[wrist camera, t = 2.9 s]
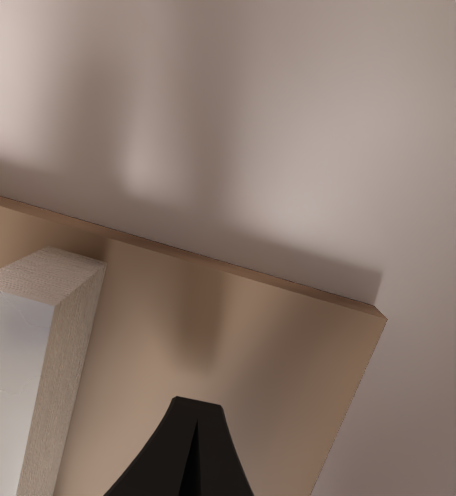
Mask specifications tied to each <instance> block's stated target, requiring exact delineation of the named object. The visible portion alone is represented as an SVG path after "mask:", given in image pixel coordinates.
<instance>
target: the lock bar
mask: <svg viewBox="0 0 456 496" xmlns="http://www.w3.org/2000/svg"><path fill="white" fill-rule="evenodd" d="M106 266H107V263H106V262H103V261H99V260H96V259H92V258H89V257H85V256H82V255H79V254H75V253H72V252H68V251H65V250H61V249H58V248H54V247H51V246H47V247H45V248H43V249H41V250H39V251H37V252H34V253H32V254H30V255H28V256H26V257H24V258H22V259H19V260H17V261H15V262H13V263H11V264H9V265H7V266H5V267H2V268H0V496H53V492H54V488H55V484H56V480H57V475H58V471H59V467H60V463H61V458H62V454H63V450H64V445H65V441H66V437H67V433H68V428H69V424H70V420H71V415H72V411H73V407H74V403H75V398H76V394H77V390H78V386H79V381H80V377H81V373H82V368H83V364H84V360H85V356H86V351H87V347H88V343H89V338H90V334H91V330H92V326H93V321H94V317H95V313H96V309H97V304H98V300H99V296H100V291H101V287H102V283H103V279H104V274H105V270H106Z"/></svg>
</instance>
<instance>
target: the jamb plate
mask: <svg viewBox="0 0 456 496" xmlns="http://www.w3.org/2000/svg"><path fill="white" fill-rule="evenodd" d="M47 246H51V247H54V248H58V249H61V250H65V251H68V252H72V253H75V254H79V255H82V256H85V257H89V258H92V259H96V260H99V261H103V262H106V263H107V266H106V270H105V274H104V279H103V283H102V287H101V291H100V296H99V300H98V304H97V309H96V313H95V317H94V321H93V326H92V330H91V334H90V338H89V343H88V347H87V351H86V356H85V360H84V364H83V368H82V373H81V377H80V381H79V386H78V390H77V394H76V398H75V403H74V407H73V411H72V415H71V420H70V424H69V428H68V433H67V437H66V441H65V445H64V450H63V454H62V458H61V463H60V467H59V471H58V475H57V480H56V484H55V488H54V492H53V496H103V495H104V494H105V493H106V492H107V491H108V490H109V489H110V487H111V486H112V485H113V484H114V483H115V482H116V481H117V479H118V478H119V477H120V476H121V475H122V473H123V472H124V471H125V470H126V469H127V467H128V466H129V465H130V464H131V462H132V461H133V460H134V459H135V457H136V456H137V455H138V454H139V452H140V451H141V450H142V448H143V447H144V445H145V444H146V443H147V441H148V440H149V438H150V437H151V435H152V434H153V433H154V431H155V430H156V428H157V427H158V425H159V423H160V422H161V420H162V418H163V417H164V415H165V413H166V411H167V409H168V407H169V405H170V403H171V400H172V398H174V397H176V396H180V397H185V398H190V399H195V400H199V401H204V402H209V403H214V404H219V405H221V406H222V408H223V409H224V414H225V418H226V422H227V425H228V428H229V432H230V435H231V438H232V441H233V444H234V447H235V449H236V452H237V455H238V457H239V460H240V463H241V465H242V468H243V470H244V473H245V475H246V478H247V480H248V482H249V485H250V487H251V489H252V491H253V494H254V496H310V494H311V492H312V490H313V488H314V485H315V483H316V481H317V478H318V476H319V474H320V472H321V469H322V467H323V465H324V463H325V460H326V458H327V456H328V454H329V451H330V449H331V447H332V444H333V442H334V440H335V438H336V435H337V433H338V431H339V429H340V426H341V424H342V422H343V420H344V417H345V415H346V413H347V410H348V408H349V406H350V404H351V401H352V399H353V397H354V395H355V392H356V390H357V388H358V385H359V383H360V381H361V379H362V376H363V374H364V372H365V370H366V367H367V365H368V363H369V361H370V358H371V356H372V354H373V351H374V349H375V347H376V345H377V342H378V340H379V338H380V336H381V333H382V331H383V329H384V327H385V324H386V322H387V320H388V319H387V318H386V317H385V316H384V315H383V314H382V313H381V312H380V311H379V310H378V309H377V308H376V307H375V306H372V305H369V304H365V303H362V302H358V301H355V300H352V299H348V298H345V297H341V296H338V295H335V294H331V293H328V292H324V291H321V290H318V289H314V288H311V287H307V286H304V285H301V284H297V283H294V282H290V281H287V280H284V279H280V278H277V277H273V276H270V275H267V274H263V273H260V272H256V271H253V270H250V269H246V268H243V267H239V266H236V265H233V264H229V263H226V262H222V261H219V260H216V259H212V258H209V257H205V256H202V255H199V254H195V253H192V252H188V251H185V250H181V249H178V248H175V247H171V246H168V245H164V244H161V243H158V242H154V241H151V240H147V239H144V238H141V237H137V236H134V235H130V234H127V233H124V232H120V231H117V230H113V229H110V228H107V227H103V226H100V225H96V224H93V223H90V222H86V221H83V220H79V219H76V218H73V217H69V216H66V215H62V214H59V213H56V212H52V211H49V210H45V209H42V208H39V207H35V206H32V205H28V204H25V203H22V202H18V201H15V200H11V199H8V198H5V197H1V196H0V268H2V267H5V266H7V265H9V264H11V263H13V262H15V261H17V260H19V259H22V258H24V257H26V256H28V255H30V254H32V253H34V252H37V251H39V250H41V249H43V248H45V247H47Z"/></svg>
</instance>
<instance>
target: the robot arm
mask: <svg viewBox="0 0 456 496" xmlns="http://www.w3.org/2000/svg"><path fill="white" fill-rule="evenodd" d="M103 496H254V494H253V491H252V489H251V487H250V485H249V482H248V480H247V478H246V475H245V473H244V470H243V468H242V465H241V463H240V460H239V457H238V455H237V452H236V449H235V447H234V444H233V441H232V438H231V435H230V432H229V428H228V425H227V422H226V418H225V414H224V409H223V408H222V406H221V405H219V404H214V403H209V402H204V401H199V400H195V399H190V398H185V397H180V396H176V397H174V398H172V400H171V403H170V405H169V407H168V409H167V411H166V413H165V415H164V417H163V418H162V420H161V422H160V423H159V425H158V427H157V428H156V430H155V431H154V433H153V434H152V435H151V437H150V438H149V440H148V441H147V443H146V444H145V445H144V447H143V448H142V450H141V451H140V452H139V454H138V455H137V456H136V457H135V459H134V460H133V461H132V462H131V464H130V465H129V466H128V467H127V469H126V470H125V471H124V472H123V473H122V475H121V476H120V477H119V478H118V479H117V481H116V482H115V483H114V484H113V485H112V486H111V487H110V489H109V490H108V491H107V492H106V493H105V494H104V495H103Z"/></svg>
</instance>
